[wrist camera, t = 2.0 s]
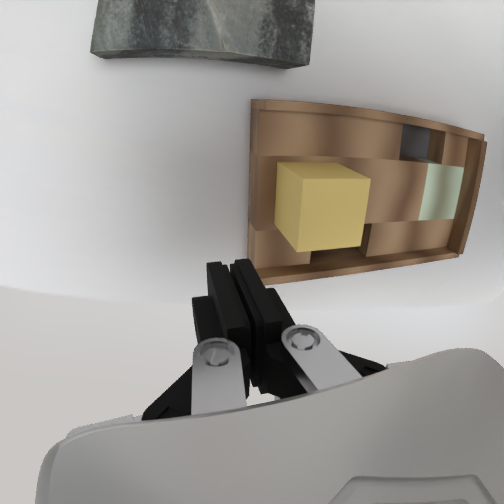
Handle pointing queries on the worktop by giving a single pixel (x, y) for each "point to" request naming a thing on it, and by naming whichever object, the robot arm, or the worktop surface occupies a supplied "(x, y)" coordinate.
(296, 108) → the box
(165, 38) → the stone block
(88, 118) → the worktop surface
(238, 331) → the robot arm
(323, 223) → the block
